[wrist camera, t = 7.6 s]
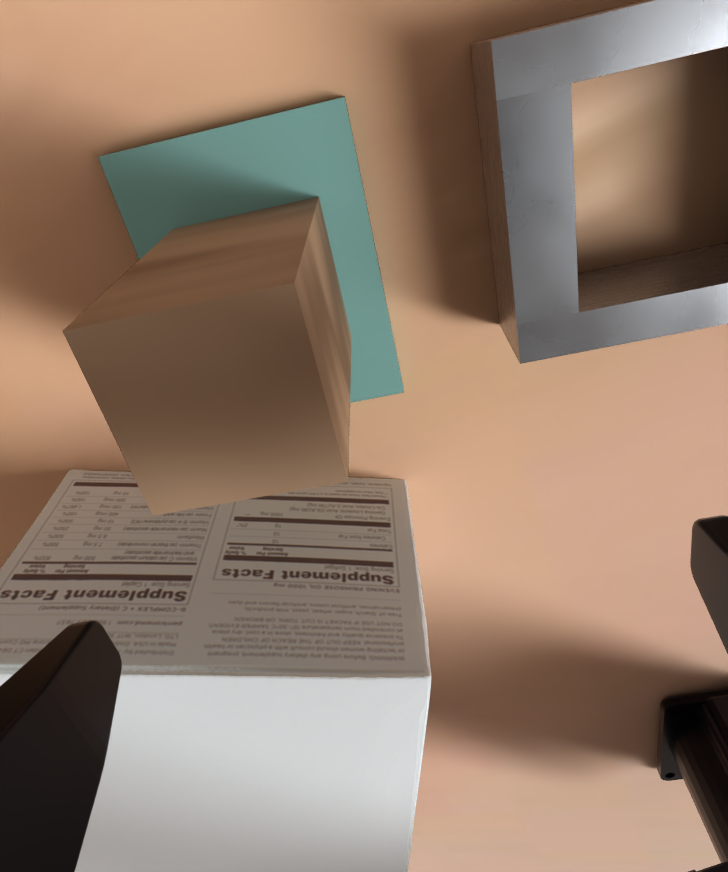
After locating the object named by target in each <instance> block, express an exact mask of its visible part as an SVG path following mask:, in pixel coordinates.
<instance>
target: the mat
mask: <svg viewBox="0 0 728 872" xmlns="http://www.w3.org/2000/svg"><path fill="white" fill-rule="evenodd" d="M98 158H99V161H100V163H101V166H102V168H103V171H104V173H105V176H106V178H107V181H108V183H109V186H110V188H111V191H112V193H113V196H114V198H115V201H116V203H117V206H118V208H119V211H120V213H121V216H122V218H123V221H124V223H125V226H126V228H127V231H128V233H129V236H130V238H131V241H132V243H133V246H134V248H135V251H136V253H137V256H138V258H139V260H140V259H141V258H142V257H143V256H144V255H145V254H147V253H148V252H149V251H150V250H151V249H152V248H153V247H154V246H155V245H156V244H157V243H158V242H160V241H161V240H162V239H163V238H164V237H165V236H166V235H167V234H168V233H169V232H170V231H171V230H173V229H175V228H180V227H184V226H189V225H193V224H198V223H202V222H207V221H211V220H216V219H220V218H225V217H229V216H234V215H238V214H243V213H247V212H252V211H256V210H261V209H265V208H270V207H274V206H279V205H283V204H288V203H292V202H297V201H301V200H306V199H310V198H315V197H319V199H320V204H321V208H322V212H323V216H324V221H325V225H326V229H327V234H328V238H329V242H330V246H331V251H332V255H333V259H334V264H335V268H336V272H337V277H338V281H339V285H340V289H341V294H342V298H343V302H344V307H345V311H346V315H347V320H348V324H349V328H350V332H351V337H352V344H351V385H350V403H351V402H356V401H362V400H367V399H372V398H377V397H382V396H388V395H393V394H398V393H403V392H404V389H403V383H402V378H401V373H400V368H399V363H398V358H397V353H396V348H395V343H394V339H393V334H392V329H391V324H390V319H389V314H388V309H387V304H386V299H385V294H384V289H383V284H382V279H381V274H380V269H379V264H378V259H377V254H376V249H375V244H374V239H373V234H372V229H371V224H370V219H369V214H368V209H367V204H366V200H365V195H364V190H363V185H362V180H361V175H360V170H359V165H358V160H357V155H356V150H355V145H354V140H353V135H352V130H351V125H350V120H349V115H348V110H347V105H346V100H345V96H344V97H340V98H336V99H332V100H327V101H323V102H319V103H315V104H311V105H307V106H303V107H299V108H295V109H291V110H286V111H282V112H278V113H274V114H270V115H266V116H262V117H258V118H254V119H249V120H245V121H241V122H237V123H233V124H229V125H225V126H221V127H217V128H212V129H208V130H204V131H200V132H196V133H192V134H188V135H184V136H180V137H176V138H171V139H167V140H163V141H159V142H155V143H151V144H147V145H143V146H139V147H134V148H130V149H126V150H122V151H118V152H114V153H110V154H106V155H103V156H100V157H98Z"/></svg>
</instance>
